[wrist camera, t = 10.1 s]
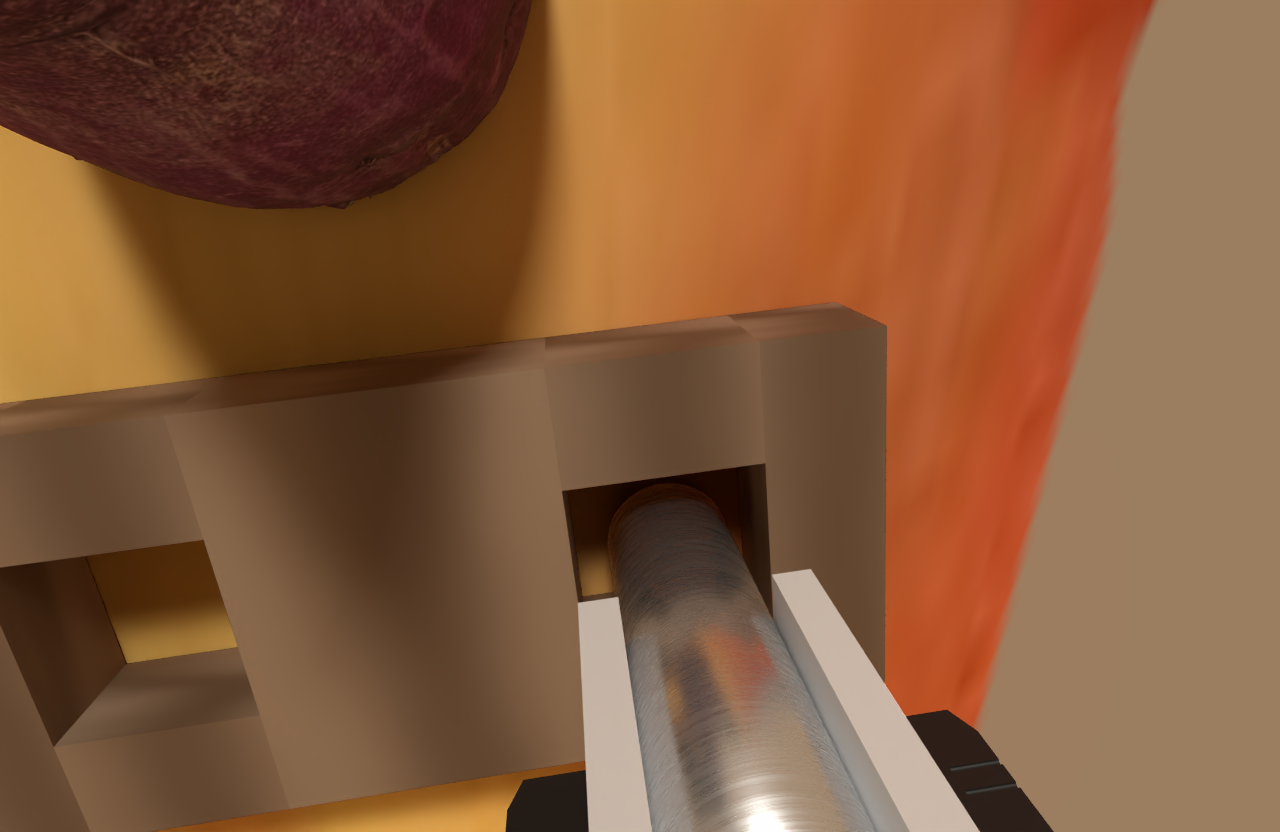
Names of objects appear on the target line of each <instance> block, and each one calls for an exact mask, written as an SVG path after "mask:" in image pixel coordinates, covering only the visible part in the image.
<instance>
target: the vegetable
mask: <svg viewBox="0 0 1280 832" xmlns="http://www.w3.org/2000/svg"><path fill="white" fill-rule="evenodd" d="M531 3H532V0H0V125H1V126H3V127H5V128H7V129H9V130H11V131H14V132H16V133H18V134H20V135H22V136H25V137H27V138H29V139H31V140H33V141H36V142H38V143H40V144H43V145H45V146H48V147H50V148H53V149H55V150H58V151H60V152H63V153H66V154H68V155H71V156H73V157H74V158H75V159H76V160H83V161H86V162H89V163H91V164H94V165H96V166H99V167H101V168H104V169H106V170H108V171H111V172H113V173H116V174H118V175H121V176H123V177H126V178H128V179H131V180H134V181H137V182H140V183H142V184H145V185H148V186H151V187H154V188H157V189H160V190H164V191H167V192H170V193H173V194H177V195H181V196H185V197H189V198H194V199H198V200H203V201H208V202H213V203H218V204H223V205H228V206H233V207H244V208H253V209H285V208H313V207H320V206H328V207H334V208H340V209H345V208H347V207H348V206H350V205H351V204H353V203H354V201H355V200H358V199H362V198H365V197H369V198H371V197H372V196H373V195H376V194H379V193H382V192H384V191H387V190H389V189H392V188H394V187H395V186H397V185H399V184H400V183H402V182H403V181H405V180H406V179H407V178H409V177H410V176H412V175H414V174H416V173H417V172H419V171H421V170H422V169H424V168H425V167H427V166H428V165H430V164H431V163H433V162H435V161H436V160H438V158H439V157H440V156H441V155H442V154H444V153H446V152H448V151H450V150H451V149H452V148H453V147H455V146H457V145H458V144H460V143H461V142H462V141H463V140H464V139H465V138H466V137H468V136H469V135H470V133H471V132H472V131H473V130H474V129H475V128H476V127H477V125H478V124H479V123H480V122H481V121H482V120H483V119H484V117H485V116H486V115H487V114H488V113H489V112H490V111H491V109H492V108H493V107H494V106H495V105H496V103H497V102H498V100H499V98H500V96H501V94H502V92H503V90H504V88H505V85H506V81H507V79H508V77H509V74H510V72H511V70H512V67H513V65H514V63H515V60H516V58H517V55H518V52H519V48H520V45H521V42H522V38H523V35H524V31H525V27H526V23H527V19H528V15H529V11H530V7H531Z"/></svg>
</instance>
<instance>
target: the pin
mask: <svg viewBox="0 0 1280 832" xmlns="http://www.w3.org/2000/svg"><path fill="white" fill-rule="evenodd" d="M608 550H609V557H610V564H611V572H612V579H613V586H614V594H615V597H618V599H619V606H620V613H621V620H622V627H623V634H624V641H625V648H626V654H627V661H628V668H629V675H630V682H631V689H632V696H633V703H634V710H635V717H636V724H637V730H638V737H639V744H640V751H641V758H642V765H643V772H644V779H645V786H646V793H647V799H648V806H649V813H650V820H651V827H652V832H876V831H875V829H874V827H873V825H872V823H871V821H870V819H869V817H868V815H867V813H866V811H865V809H864V807H863V805H862V803H861V801H860V798H859V796H858V794H857V792H856V790H855V788H854V786H853V784H852V782H851V780H850V778H849V776H848V774H847V772H846V770H845V768H844V765H843V763H842V761H841V759H840V757H839V755H838V753H837V751H836V749H835V747H834V745H833V743H832V741H831V739H830V737H829V735H828V733H827V730H826V728H825V726H824V724H823V722H822V720H821V718H820V716H819V714H818V712H817V710H816V708H815V706H814V704H813V702H812V700H811V697H810V695H809V693H808V691H807V689H806V687H805V685H804V683H803V681H802V679H801V677H800V675H799V673H798V671H797V669H796V667H795V665H794V662H793V660H792V658H791V656H790V654H789V652H788V650H787V648H786V646H785V644H784V642H783V640H782V638H781V636H780V634H779V632H778V629H777V627H776V625H775V623H774V621H773V619H772V617H771V615H770V613H769V611H768V609H767V607H766V605H765V603H764V601H763V599H762V597H761V594H760V592H759V590H758V588H757V586H756V584H755V582H754V580H753V578H752V576H751V574H750V572H749V570H748V568H747V566H746V564H745V561H744V559H743V557H742V555H741V553H740V551H739V549H738V547H737V545H736V543H735V541H734V539H733V537H732V535H731V533H730V531H729V529H728V526H727V524H726V522H725V520H724V518H723V516H722V514H721V512H720V510H719V508H718V507H717V505H716V504H715V503H714V502H713V500H712V499H711V498H710V497H708V496H707V495H706V494H705V493H703V492H702V491H700V490H698V489H696V488H694V487H691V486H688V485H685V484H679V483H661V484H656V485H652V486H649V487H646V488H644V489H642V490H639V491H638V492H636V493H635V494H633V495H632V496H630V497H629V498H628V499H627V500H626V501H625V502H624V503H623V504H622V505H621V506H620V507H619V508H618V510H617V511H616V513H615V515H614V516H613V518H612V521H611V523H610V527H609V531H608Z"/></svg>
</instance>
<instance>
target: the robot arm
mask: <svg viewBox="0 0 1280 832" xmlns="http://www.w3.org/2000/svg"><path fill="white" fill-rule="evenodd" d="M772 588H773V608H774V623H775V625H776V627H777V629H778V632H779V634H780V636H781V638H782V640H783V642H784V644H785V646H786V648H787V650H788V652H789V654H790V656H791V658H792V660H793V662H794V665H795V667H796V669H797V671H798V673H799V675H800V677H801V679H802V681H803V683H804V685H805V687H806V689H807V691H808V693H809V695H810V697H811V700H812V702H813V704H814V706H815V708H816V710H817V712H818V714H819V716H820V718H821V720H822V722H823V724H824V726H825V728H826V730H827V733H828V735H829V737H830V739H831V741H832V743H833V745H834V747H835V749H836V751H837V753H838V755H839V757H840V759H841V761H842V763H843V765H844V768H845V770H846V772H847V774H848V776H849V778H850V780H851V782H852V784H853V786H854V788H855V790H856V792H857V794H858V796H859V798H860V801H861V803H862V805H863V807H864V809H865V811H866V813H867V815H868V817H869V819H870V821H871V823H872V825H873V827H874V829H875V831H876V832H1053V830H1052V829H1051V828H1050V826H1049V825H1048V824H1047V822H1046V821H1045V820H1044V818H1043V817H1042V816H1041V814H1040V813H1039V812H1038V810H1037V809H1036V808H1035V807H1034V805H1033V804H1032V803H1031V801H1030V800H1029V799H1028V797H1027V796H1026V795H1025V793H1024V792H1023V791H1022V789H1021V788H1018V787H1017V785H1016V781H1015V780H1014V779H1013V777H1012V776H1011V775H1010V773H1009V772H1008V771H1007V769H1006V768H1005V767H1004V765H1002V764H1001V765H1000V763H999V760H998V758H997V756H996V755H995V754H994V752H993V751H992V750H991V748H990V747H989V746H988V744H987V743H986V742H985V740H984V739H983V738H982V736H981V735H980V734H979V732H978V731H977V730H975V729H974V728H972V727H971V726H969V725H968V724H967V723H965V722H964V721H962V720H961V719H959V718H958V717H957V716H955V715H954V714H952V713H951V712H949V711H948V710H943V711H936V712H930V713H924V714H918V715H911V716H905V715H904V713H903V712H902V710H901V708H900V707H899V705H898V704H897V702H896V701H895V699H894V698H893V696H892V694H891V693H890V691H889V690H888V688H887V687H886V685H885V684H884V682H883V681H882V679H881V677H880V676H879V674H878V673H877V671H876V670H875V668H874V667H873V665H872V663H871V662H870V660H869V659H868V657H867V656H866V654H865V653H864V651H863V649H862V648H861V646H860V645H859V643H858V642H857V640H856V639H855V637H854V635H853V634H852V632H851V631H850V629H849V628H848V626H847V625H846V623H845V621H844V620H843V618H842V617H841V615H840V614H839V612H838V611H837V609H836V607H835V606H834V604H833V603H832V601H831V600H830V598H829V597H828V595H827V593H826V592H825V590H824V589H823V587H822V586H821V584H820V583H819V581H818V579H817V578H816V576H815V575H814V573H813V572H812V570H811V569H807V570H801V571H794V572H787V573H780V574H773V575H772ZM578 617H579V638H580V658H581V679H582V700H583V720H584V741H585V762H586V770H583V771H577V772H571V773H565V774H559V775H552V776H546V777H540V778H534V779H528V780H523V782H522V784H521V786H520V788H519V789H518V791H517V793H516V795H515V797H514V799H513V801H512V803H511V804H510V806H509V808H508V810H507V821H506V832H652V827H651V820H650V813H649V806H648V799H647V793H646V786H645V779H644V772H643V765H642V758H641V751H640V744H639V737H638V730H637V724H636V717H635V710H634V703H633V696H632V689H631V682H630V675H629V668H628V661H627V654H626V648H625V641H624V634H623V627H622V620H621V613H620V606H619V599H618V597H615V598H608V599H601V600H594V601H587V602H581V603H578Z"/></svg>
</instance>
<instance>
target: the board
mask: <svg viewBox="0 0 1280 832" xmlns="http://www.w3.org/2000/svg"><path fill="white" fill-rule="evenodd" d="M886 368H887V326H886V325H884V324H882V323H880V322H878V321H876V320H873V319H871V318H869V317H867V316H865V315H863V314H860V313H858V312H856V311H854V310H852V309H850V308H847V307H845V306H843V305H841V304H839V303H837V302H834V303H826V304H818V305H809V306H801V307H793V308H785V309H776V310H768V311H760V312H752V313H743V314H735V315H727V316H719V317H710V318H702V319H694V320H686V321H678V322H669V323H661V324H653V325H645V326H636V327H628V328H620V329H612V330H603V331H595V332H587V333H579V334H570V335H562V336H554V337H546V338H538V339H529V340H521V341H513V342H505V343H496V344H488V345H480V346H472V347H463V348H455V349H447V350H439V351H430V352H422V353H414V354H406V355H398V356H389V357H381V358H373V359H365V360H356V361H348V362H340V363H332V364H323V365H315V366H307V367H299V368H290V369H282V370H274V371H266V372H258V373H249V374H241V375H233V376H225V377H216V378H208V379H200V380H192V381H183V382H175V383H167V384H159V385H150V386H142V387H134V388H126V389H118V390H109V391H101V392H93V393H85V394H76V395H68V396H60V397H52V398H43V399H35V400H27V401H19V402H10V403H2V404H0V832H152V831H158V830H164V829H170V828H177V827H183V826H189V825H195V824H201V823H207V822H213V821H220V820H226V819H232V818H238V817H244V816H250V815H256V814H263V813H269V812H275V811H281V810H287V809H293V808H299V807H306V806H312V805H318V804H324V803H330V802H336V801H342V800H349V799H355V798H361V797H367V796H373V795H379V794H385V793H392V792H398V791H404V790H410V789H416V788H422V787H429V786H435V785H441V784H447V783H453V782H459V781H465V780H472V779H478V778H484V777H490V776H496V775H502V774H508V773H515V772H521V771H527V770H533V769H539V768H545V767H551V766H558V765H564V764H570V763H576V762H582V761H585V741H584V720H583V700H582V679H581V658H580V638H579V617H578V603H581V602H587V601H594V600H601V599H608V598H615V594H614V592H612V593H605V594H598V595H591V596H584V597H583V596H582V589H581V582H580V575H579V568H578V561H577V554H576V547H575V540H574V533H573V526H572V519H571V512H570V505H569V499H568V492H567V490H573V489H580V488H587V487H595V486H602V485H609V484H617V483H624V482H631V481H639V480H646V479H653V478H661V477H668V476H675V475H683V474H690V473H697V472H705V471H712V470H719V469H727V468H734V467H737V470H738V486H739V501H740V517H741V533H742V549H743V559H744V561H745V564H746V566H747V568H748V570H749V572H750V574H751V576H752V578H753V580H754V582H755V584H756V586H757V588H758V590H759V592H760V594H761V597H762V599H763V601H764V603H765V605H766V607H767V609H768V611H769V613H770V615H771V617H772V619H773V621H774V608H773V588H772V575H773V574H780V573H787V572H794V571H801V570H807V569H811V570H812V572H813V573H814V575H815V576H816V578H817V579H818V581H819V583H820V584H821V586H822V587H823V589H824V590H825V592H826V593H827V595H828V597H829V598H830V600H831V601H832V603H833V604H834V606H835V607H836V609H837V611H838V612H839V614H840V615H841V617H842V618H843V620H844V621H845V623H846V625H847V626H848V628H849V629H850V631H851V632H852V634H853V635H854V637H855V639H856V640H857V642H858V643H859V645H860V646H861V648H862V649H863V651H864V653H865V654H866V656H867V657H868V659H869V660H870V662H871V663H872V665H873V667H874V668H875V670H876V671H877V673H878V674H879V676H880V677H881V679H882V681H883V682H884V684H885V539H886ZM199 540H204V543H205V546H206V549H207V552H208V555H209V558H210V561H211V565H212V568H213V571H214V574H215V577H216V580H217V583H218V586H219V589H220V593H221V596H222V599H223V602H224V605H225V608H226V611H227V614H228V617H229V621H230V624H231V627H232V630H233V633H234V636H235V639H236V642H237V646H238V647H237V648H230V649H224V650H217V651H210V652H203V653H196V654H190V655H183V656H176V657H169V658H162V659H155V660H149V661H142V662H135V663H128V664H126V662H125V660H124V657H123V655H122V652H121V649H120V647H119V644H118V641H117V639H116V636H115V634H114V631H113V628H112V626H111V623H110V620H109V618H108V615H107V613H106V610H105V607H104V605H103V602H102V599H101V597H100V594H99V592H98V589H97V586H96V584H95V581H94V578H93V576H92V573H91V570H90V568H89V565H88V563H87V560H86V557H85V556H89V555H96V554H103V553H111V552H118V551H125V550H133V549H140V548H147V547H155V546H162V545H169V544H177V543H184V542H191V541H199Z"/></svg>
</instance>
